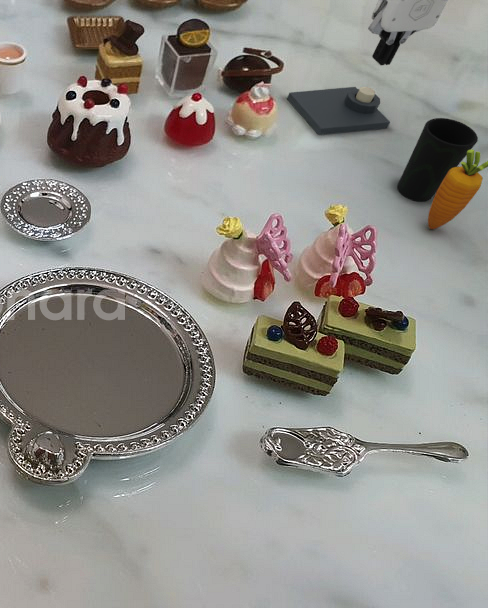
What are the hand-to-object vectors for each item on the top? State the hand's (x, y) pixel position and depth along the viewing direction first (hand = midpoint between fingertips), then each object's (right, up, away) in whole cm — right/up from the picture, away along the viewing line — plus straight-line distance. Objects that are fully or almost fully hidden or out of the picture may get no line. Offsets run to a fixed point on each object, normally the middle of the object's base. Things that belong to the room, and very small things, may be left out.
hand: (380, 60), depth 136 cm
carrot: (0, -32, -15) cm, 35 cm away
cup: (+1, -25, -8) cm, 26 cm away
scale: (-5, -8, +7) cm, 11 cm away
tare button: (0, -5, +6) cm, 8 cm away
